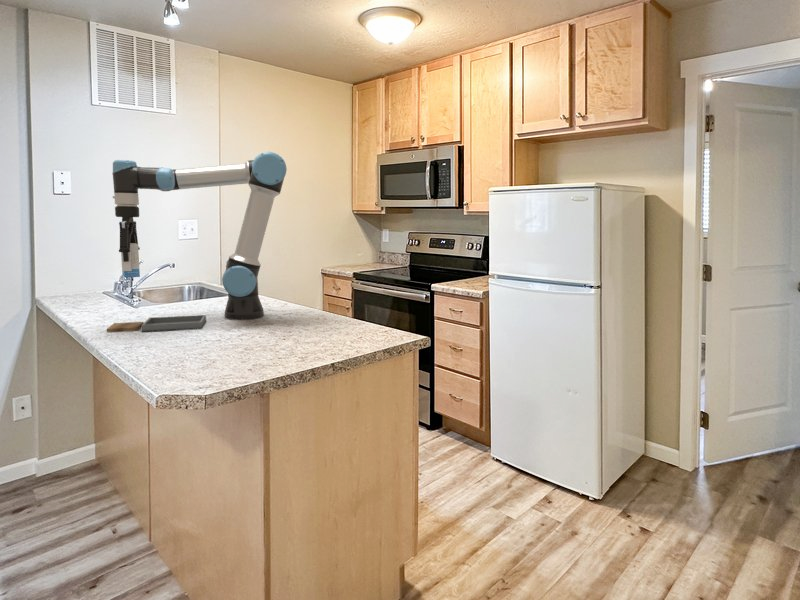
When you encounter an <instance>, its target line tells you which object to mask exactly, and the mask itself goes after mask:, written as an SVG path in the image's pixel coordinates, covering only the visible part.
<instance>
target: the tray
mask: <svg viewBox="0 0 800 600" xmlns="http://www.w3.org/2000/svg"><path fill="white" fill-rule="evenodd" d="M143 322H144V323H143V324H142V325H141V328H140V329H141V333H150V332H151V333H153V332H154V333H155V332H171V331H172V332H173V331H174V332H175V331H190V330H191V331H192V330H203V328H204V326H205V324H206V323H207V315H206V314H200V315H199V314H198V315H183V316H181V315H178V316H158V317H156V316H155V317H148V319H146V320H145V321H143Z"/></svg>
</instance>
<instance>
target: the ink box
mask: <svg viewBox="0 0 800 600" xmlns="http://www.w3.org/2000/svg"><path fill="white" fill-rule="evenodd" d="M138 246H139V243H138V244H136V243H130V252H131V265H132V271H123V266H122V265H121V272H122V274H121V275H122V277H124V278H140V277H141V275H140V274H141V273H140V257H139V250H138ZM120 255H121V256H120V257H121V260H122V252H120Z"/></svg>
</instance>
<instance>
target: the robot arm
mask: <svg viewBox="0 0 800 600" xmlns="http://www.w3.org/2000/svg"><path fill="white" fill-rule="evenodd" d="M286 164H287V163H286V162H285V160H284V159H283V158H282V156H280V154H279V153H276V152H273V151H263V152H261V153H259V154H258V155H257V156H256V157H254V159H250V160H246V161H245V162H244V163H238V164H237V163H236V164H234V163H233V164H222V165H212V166H210V165H209V166H202V167H201V166H199V167H190V168H189V167H188V168H177V169H174V168H173V169H172V168H169V167H149V166H148V167H141V166H138V165H137V162H136V161H135V160H127V159H115V160H113V162H112V183H113V196H112V199H114V204H115V206H114V210H115V211H114V212H115V213H114V214H115V217H117V218H121V221H119V222H118V224H119V225H118V226H119V249H118V253H121V252H122V259H121V267H122V266H123V271H132V265H131V252H130V243H136V244H138V251H140V250H141V249H140V247H139V240H138V232H137V221H136V220H135V221H134V218H139V217H140V207H139V204H140V202H139V201H140V200H139V199H140V197H139V190H158V191H161V192H170V191H178V190H187V189H188V190H189V189H199V188H212V187H224V186H235V185H245V184H247V185H248V187H249V189H250V193H249V198H248V201H247V204H246V205H247V206H246V209H245V213H244V218H243V220H242V224H241V229H240V231H239V236H238V239H237V244H236V247H235V251H234V253H233V254H231V255H229V257H228V260H226V265H225V271H224V273H223V274H222V277H221V278H222V279H221V282H222V283H221V284H222V286H223V288H224V290H225V291H226V292H227V295H228V296H227V297H228V298H227V302H226V305H225V309H224V318H225V319H227V320H234V321H235V320H236V321H237V320H238V321H239V320H242V321H243V320H252V319H258V318H262V317H263V316H264V312H265V311H264V307H263V304H262V303H261V299H260V297H259V296H260V295H259V282H258V281H259V280H258V276H259V272H260V269H261V265H262V263H261V262H260V261H259V256H260V253H261V249H262V245H263V243H264V239H265V234H266V230H267V227H268V223H269V220H270V216H271V212H272V208H273V206H274V201H275V199H276V197H277V196H279V195H280V194H281V192H282V188H283V185H284V180H285V176H286V175H287V170H288V169H287V165H286Z"/></svg>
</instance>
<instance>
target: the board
mask: <svg viewBox="0 0 800 600" xmlns="http://www.w3.org/2000/svg"><path fill="white" fill-rule="evenodd" d="M144 322H145V321H135V322H134V321H131V322H114V323H113V324H111V325H110V326H108V327H107V328H106V333H116V332H117V333H118V332H119V333H120V332H136V331H139V330H140V329H141V325H142V324H143V323H144Z"/></svg>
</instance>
